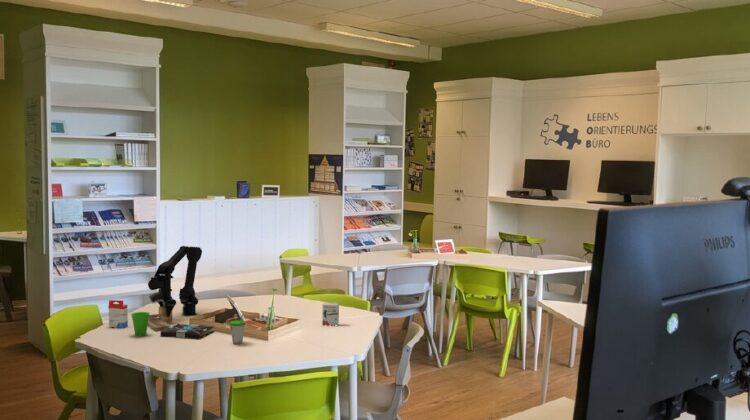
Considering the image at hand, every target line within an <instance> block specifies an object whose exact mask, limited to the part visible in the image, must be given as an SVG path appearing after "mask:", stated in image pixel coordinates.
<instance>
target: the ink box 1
mask: <svg viewBox="0 0 750 420" xmlns="http://www.w3.org/2000/svg"><path fill="white" fill-rule="evenodd" d="M128 312H129V310H128V304H124V300H115V299H113V300H111V299H110V300H108V328H109V327H116V328H115V329H124V328H127V327H128V326H129V323H128V322H129V321H128V318H129V317H128V316H129V315H128V314H129V313H128Z"/></svg>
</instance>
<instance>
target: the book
mask: <svg viewBox="0 0 750 420" xmlns="http://www.w3.org/2000/svg"><path fill="white" fill-rule="evenodd" d="M213 328H215V325H212V326H211V325H209V326H208V325H201V324H183V323H182V324H181V323H178V322H177V324H175V325H173V326H172V325H170V326H169V328H168V329H165V330H160V331H159V332H160V338H161V337H165V338H166V337H167V338H177V339H196V340H199V341H200V340H201V339H203V338H204V337H205V336H208V335H209V334H212V333H214V332H215V330H213Z"/></svg>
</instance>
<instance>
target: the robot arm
mask: <svg viewBox="0 0 750 420" xmlns="http://www.w3.org/2000/svg"><path fill="white" fill-rule="evenodd" d="M202 254H203V249H202V248H201V247H200V246H188V245H187V246H186V245H181V246H180V247H179V249H178V250H177V251H176V252H175V253H174V254H173V255H172V256H171V257H170V258H169V259H168V260H166V261H164V262H162V263H161V264H159V265H158V267H157V269H156V272H155V274H154V276H152V277H151V278H150V280H149V281H148V283H147V287H148V288H149V290H150V291H155V290H157V292H155V293H152V294H150V295H148V298H149V301H150V302H151V303H155V302H156V303H157V304H158V305H159V307H162V306H164V307H165V308H166V313H167V317H169V316H170V314H171V312H172V313H173V310H174V308H175V306H176V305H177V300H176V299H175V298H173V296H172V292H173V289H172V282H171V281H172V279H174V276H173V275H172V274H173V273H174V271H175V269H176V266H177V265H178V264H179V262H181V260H183V259H184V257H185V256H186V259H187V267H186V274H185V279H184V285H183V287H182V288H180V289H179V294H178V296H179V297H178V298H179V300H180V304H182V305H183V306H182V309H181V310H182V312H181V313H182V315H184V317H185V316H186V317H188V316H196V315H198V314H197V313H196V312H197V311H196V306H197V305H198V304H199V299H198V298H197V297H196V291H195V289H194V284H195V279H196V271H197V265H198V262H199V261H200V259H201V257H202Z"/></svg>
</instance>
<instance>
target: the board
mask: <svg viewBox="0 0 750 420" xmlns="http://www.w3.org/2000/svg"><path fill="white" fill-rule="evenodd" d="M169 326H171V325H170V324H169V323H168V322H164V321H162V320H161V319H159V317H153V318H149V319H148V325H147V328H150V329H151V330H152V331H154V332H160V330H165V329H168V328H169Z"/></svg>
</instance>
